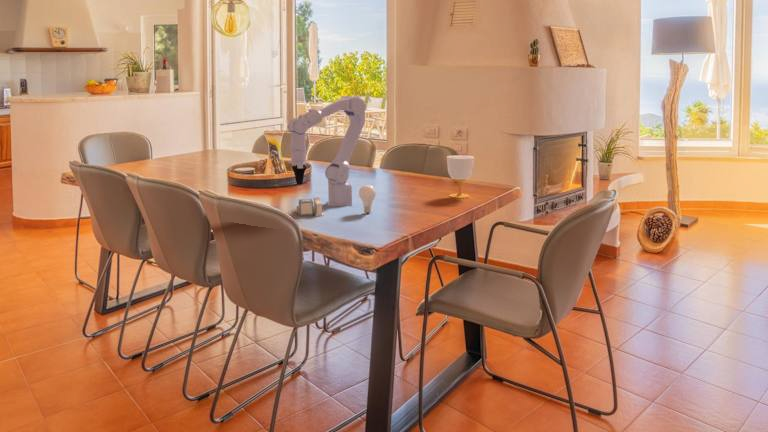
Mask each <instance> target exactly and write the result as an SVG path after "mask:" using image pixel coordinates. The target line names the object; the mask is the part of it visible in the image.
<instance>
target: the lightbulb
mask: <svg viewBox="0 0 768 432" xmlns="http://www.w3.org/2000/svg"><path fill="white" fill-rule="evenodd" d="M358 196H359V198H360V199H361V201H362V204H363V212H364V213H365V214H367V215H368V214H371V212H372V204H373V201H374V200H375V198H376V196H377V192H376V189H375V187H374V186H372V184H365V185H363V186H361V187H360V188H359V191H358Z"/></svg>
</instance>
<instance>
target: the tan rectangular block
mask: <svg viewBox="0 0 768 432" xmlns="http://www.w3.org/2000/svg"><path fill="white" fill-rule="evenodd" d="M313 215H314V217H324V216H325V215H324V213H323V203H322V200H321V199H320V198H319V197H313Z"/></svg>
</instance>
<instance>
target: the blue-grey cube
mask: <svg viewBox="0 0 768 432" xmlns="http://www.w3.org/2000/svg"><path fill="white" fill-rule="evenodd" d="M298 206H299V214H300V215H314V212H313V209H314V200H313V199H312V198H305V199H303V198H301V199H298ZM299 214H298V215H299Z"/></svg>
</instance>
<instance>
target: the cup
mask: <svg viewBox="0 0 768 432" xmlns="http://www.w3.org/2000/svg"><path fill="white" fill-rule="evenodd" d="M474 164H475V156H473V155H466V154H465V155H462V154H461V155H458V154H456V155H447V156H446V167H447V173H448V175H449V177H450V178H451V179H452V180H454V181H456V182H457V183H458V192H457V193H450V194H449V195H448V197H450V198H454V199H467V198H466V197H468V198H470V197H471V195H470V194H467V193H462V190H461V189H462V182H464V181H466V180H468V179H469V178H470V177H471V176H472V175H473V170H474ZM469 196H470V197H469Z"/></svg>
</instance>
